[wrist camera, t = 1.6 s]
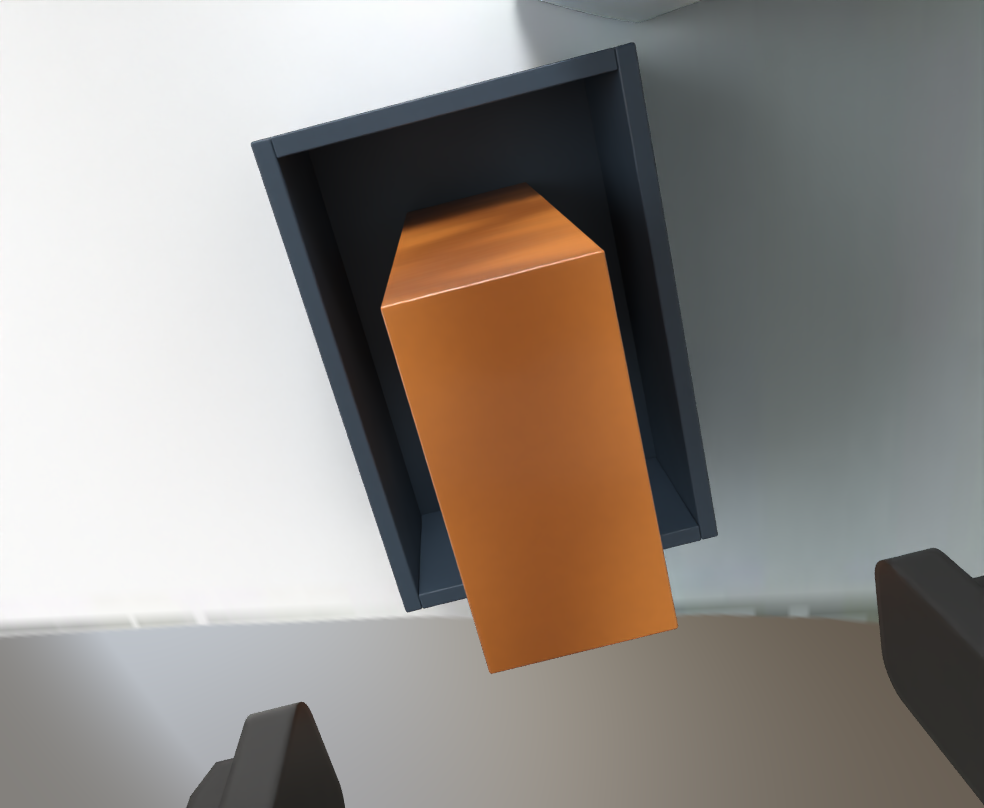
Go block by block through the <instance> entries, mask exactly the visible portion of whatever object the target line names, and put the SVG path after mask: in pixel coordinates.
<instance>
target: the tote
mask: <svg viewBox="0 0 984 808" xmlns="http://www.w3.org/2000/svg"><path fill="white" fill-rule="evenodd" d="M251 147H252V150H253V153H254V156H255V159H256V162H257V165H258V168H259V171H260V174H261V177H262V180H263V183H264V186H265V189H266V192H267V195H268V198H269V201H270V204H271V207H272V210H273V213H274V216H275V219H276V222H277V225H278V228H279V231H280V234H281V237H282V240H283V243H284V246H285V249H286V252H287V255H288V258H289V261H290V264H291V267H292V270H293V273H294V276H295V279H296V282H297V285H298V288H299V291H300V294H301V297H302V300H303V303H304V306H305V309H306V312H307V315H308V318H309V321H310V324H311V327H312V330H313V333H314V336H315V339H316V342H317V345H318V348H319V351H320V354H321V357H322V360H323V363H324V366H325V369H326V372H327V375H328V378H329V381H330V384H331V387H332V390H333V393H334V396H335V399H336V402H337V405H338V409H339V412H340V415H341V418H342V421H343V424H344V427H345V430H346V433H347V436H348V439H349V442H350V445H351V448H352V451H353V454H354V457H355V460H356V463H357V466H358V469H359V472H360V475H361V478H362V481H363V484H364V487H365V490H366V493H367V496H368V499H369V502H370V505H371V508H372V511H373V514H374V517H375V520H376V523H377V526H378V529H379V532H380V535H381V538H382V541H383V544H384V547H385V550H386V553H387V556H388V559H389V562H390V565H391V568H392V571H393V574H394V577H395V580H396V583H397V586H398V589H399V592H400V595H401V598H402V601H403V604H404V607H405V610H406V612H411V611H415V610H419V609H422V607H423V608H428V607H432V606H436V605H440V604H444V603H448V602H453V601H457V600H461V599H465V598H467V596H466V592H465V589H464V586H463V582H462V579H461V576H460V572H459V569H458V566H457V562H456V559H455V556H454V552H453V549H452V546H451V542H450V539H449V536H448V532H447V529H446V526H445V522H444V519H443V516H442V512H441V509H440V506H439V502H438V499H437V496H436V492H435V489H434V486H433V482H432V479H431V476H430V472H429V469H428V466H427V462H426V459H425V455H424V452H423V449H422V445H421V442H420V439H419V435H418V432H417V429H416V425H415V422H414V419H413V415H412V412H411V409H410V405H409V402H408V399H407V395H406V392H405V389H404V385H403V382H402V379H401V375H400V372H399V369H398V365H397V362H396V359H395V355H394V352H393V349H392V345H391V342H390V339H389V335H388V332H387V329H386V325H385V322H384V319H383V315H382V312H381V305H382V302H383V298H384V294H385V291H386V287H387V283H388V280H389V276H390V273H391V269H392V265H393V262H394V258H395V254H396V251H397V247H398V243H399V240H400V236H401V233H402V229H403V225H404V222H405V218H406V214H407V213H408V212H412V211H416V210H419V209H423V208H427V207H431V206H435V205H439V204H443V203H447V202H450V201H454V200H458V199H462V198H466V197H470V196H474V195H477V194H481V193H485V192H489V191H493V190H497V189H501V188H505V187H508V186H512V185H516V184H520V183H524V182H526V183H527V184H528V185H529V186H531V187H532V188H533V189H534V190H535V191H536V192H537V193H539V194H540V195H541V196H542V197H543V198H544V199H545V200H547V201H548V202H549V203H550V204H551V205H552V206H553V207H555V208H556V209H557V210H558V211H559V212H560V213H561V214H563V215H564V216H565V217H566V218H567V219H568V220H569V221H571V222H572V223H573V224H574V225H575V226H576V227H577V228H579V229H580V230H581V231H582V232H583V233H584V234H585V235H587V236H588V237H589V238H590V239H591V240H592V241H593V242H594V243H596V244H597V245H598V246H599V247H600V248H601V249H602V250H604V252H605V257H606V262H607V267H608V272H609V277H610V282H611V287H612V292H613V298H614V303H615V308H616V313H617V318H618V323H619V328H620V333H621V338H622V343H623V348H624V353H625V359H626V364H627V369H628V374H629V379H630V384H631V389H632V394H633V399H634V404H635V409H636V414H637V420H638V425H639V430H640V435H641V440H642V445H643V450H644V455H645V460H646V465H647V470H648V476H649V481H650V486H651V491H652V496H653V501H654V506H655V511H656V516H657V521H658V526H659V531H660V537H661V542H662V547H663V549H667V548H671V547H675V546H679V545H684V544H688V543H692V542H696V541H700V540H701V539H707V538H711V537H715V536H717V535H718V532H717V526H716V520H715V514H714V508H713V502H712V497H711V491H710V485H709V479H708V473H707V467H706V461H705V455H704V449H703V443H702V437H701V431H700V425H699V419H698V413H697V408H696V402H695V396H694V390H693V384H692V378H691V372H690V366H689V360H688V354H687V348H686V342H685V336H684V330H683V324H682V319H681V313H680V307H679V301H678V295H677V289H676V283H675V277H674V271H673V265H672V259H671V253H670V247H669V241H668V235H667V230H666V224H665V218H664V212H663V206H662V200H661V194H660V188H659V182H658V176H657V170H656V164H655V158H654V152H653V146H652V141H651V135H650V129H649V123H648V117H647V111H646V105H645V99H644V93H643V87H642V81H641V75H640V69H639V63H638V57H637V52H636V46H635V43H633V42H632V43H628V44H624V45H620V46H617V47H613V48H609V49H605V50H601V51H597V52H594V53H590V54H586V55H582V56H578V57H574V58H571V59H567V60H563V61H559V62H555V63H552V64H548V65H544V66H540V67H536V68H532V69H529V70H525V71H521V72H517V73H513V74H510V75H506V76H502V77H498V78H494V79H490V80H487V81H483V82H479V83H475V84H471V85H468V86H464V87H460V88H456V89H452V90H448V91H445V92H441V93H437V94H433V95H429V96H426V97H422V98H418V99H414V100H410V101H406V102H403V103H399V104H395V105H391V106H387V107H384V108H380V109H376V110H372V111H368V112H364V113H361V114H357V115H353V116H349V117H345V118H342V119H338V120H334V121H330V122H326V123H322V124H319V125H315V126H311V127H307V128H303V129H300V130H296V131H292V132H288V133H284V134H280V135H277V136H273V137H269V138H265V139H261V140H258V141H254V142H252V143H251Z"/></svg>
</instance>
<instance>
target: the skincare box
mask: <svg viewBox="0 0 984 808" xmlns="http://www.w3.org/2000/svg"><path fill="white" fill-rule="evenodd" d="M540 1H544V2H547V3H551V4H554V5H558V6H561V7H565V8H568V9H572V10H576V11H581V12H585V13H589V14H593V15H597V16H601V17H607V18H612V19H618V20H623V21H629V22H634V23H639V22H643V21H646V20H648V19H651V18H654V17H656V16H659V15H662V14H665V13H668V12H670V11H673V10H676V9H679V8H681V7H684V6H687V5H690V4H692V3H695V2H698V1H701V0H540Z"/></svg>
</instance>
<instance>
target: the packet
mask: <svg viewBox="0 0 984 808" xmlns="http://www.w3.org/2000/svg"><path fill="white" fill-rule="evenodd" d="M381 312H382V315H383V319H384V322H385V325H386V329H387V332H388V335H389V339H390V342H391V345H392V349H393V352H394V355H395V359H396V362H397V365H398V369H399V372H400V375H401V379H402V382H403V385H404V389H405V392H406V395H407V399H408V402H409V405H410V409H411V412H412V415H413V419H414V422H415V425H416V429H417V432H418V435H419V439H420V442H421V445H422V449H423V452H424V455H425V459H426V462H427V466H428V469H429V472H430V476H431V479H432V482H433V486H434V489H435V492H436V496H437V499H438V502H439V506H440V509H441V512H442V516H443V519H444V522H445V526H446V529H447V532H448V536H449V539H450V542H451V546H452V549H453V552H454V556H455V559H456V562H457V566H458V569H459V572H460V576H461V579H462V582H463V586H464V589H465V592H466V596H467V599H468V602H469V606H470V609H471V612H472V616H473V619H474V622H475V626H476V629H477V633H478V636H479V639H480V642H481V646H482V649H483V653H484V656H485V659H486V663H487V666H488V669H489V672H490V673H491V674H492V673H497V672H501V671H505V670H509V669H513V668H517V667H522V666H526V665H529V664H534V663H537V662H542V661H546V660H550V659H554V658H558V657H562V656H566V655H571V654H574V653H578V652H583V651H587V650H591V649H595V648H599V647H603V646H607V645H612V644H615V643H620V642H624V641H628V640H632V639H636V638H640V637H644V636H648V635H652V634H657V633H660V632H665V631H669V630H673V629H677V628H678V624H677V618H676V613H675V608H674V603H673V598H672V593H671V587H670V582H669V577H668V572H667V567H666V562H665V557H664V552H663V547H662V542H661V537H660V531H659V526H658V521H657V516H656V511H655V506H654V501H653V496H652V491H651V486H650V481H649V476H648V470H647V465H646V460H645V455H644V450H643V445H642V440H641V435H640V430H639V425H638V420H637V414H636V409H635V404H634V399H633V394H632V389H631V384H630V379H629V374H628V369H627V364H626V359H625V353H624V348H623V343H622V338H621V333H620V328H619V323H618V318H617V313H616V308H615V303H614V298H613V292H612V287H611V282H610V277H609V272H608V267H607V262H606V257H605V252H604V250H602V249H601V248H600V247H599V246H598V245H597V244H596V243H594V242H593V241H592V240H591V239H590V238H589V237H588V236H587V235H585V234H584V233H583V232H582V231H581V230H580V229H579V228H577V227H576V226H575V225H574V224H573V223H572V222H571V221H569V220H568V219H567V218H566V217H565V216H564V215H563V214H561V213H560V212H559V211H558V210H557V209H556V208H555V207H553V206H552V205H551V204H550V203H549V202H548V201H547V200H545V199H544V198H543V197H542V196H541V195H540V194H539V193H537V192H536V191H535V190H534V189H533V188H532V187H531V186H529V185H528V184H527V183H526V182H524V183H520V184H516V185H512V186H508V187H505V188H501V189H497V190H493V191H489V192H485V193H481V194H477V195H474V196H470V197H466V198H462V199H458V200H454V201H450V202H447V203H443V204H439V205H435V206H431V207H427V208H423V209H419V210H416V211H412V212H408V213H407V214H406V218H405V222H404V225H403V229H402V233H401V236H400V240H399V243H398V247H397V251H396V254H395V258H394V262H393V265H392V269H391V273H390V276H389V280H388V283H387V287H386V291H385V294H384V298H383V302H382V305H381Z"/></svg>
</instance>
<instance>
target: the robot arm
mask: <svg viewBox="0 0 984 808" xmlns="http://www.w3.org/2000/svg"><path fill="white" fill-rule="evenodd" d="M875 584H876V594H877V605H878V615H879V626H880V637H881V647H882V655H883V660H884V664H885V667H886V670H887V673H888V676H889V678H890V681H891V682H892V685H893V687H894V689H895V690H896V692H897V694H898V696H899V697H900V699H901V700H902V701H903V703H904V704H905V705H906V707H907V708H908V709H909V710H910V712H911V713H912V714H913V716H914V717H915V718H916V719H917V721H918V722H919V723H920V724H921V726H922V727H923V728H924V729H925V731H926V732H927V733H928V734H929V736H930V737H931V738H932V739H933V741H934V742H935V743H936V744H937V746H938V747H939V748H940V750H941V751H942V752H943V753H944V755H945V756H946V757H947V759H948V760H949V761H950V762H951V764H952V765H953V766H954V768H955V769H956V770H957V771H958V773H959V774H960V775H961V776H962V778H963V779H964V780H965V781H966V783H967V784H968V785H969V786H970V788H971V789H972V790H973V792H974V793H975V794H976V795H977V797H978V798H979V799H980V800H981V802H982V803H983V804H984V576H980V577H976V578H972V577H971V576H970V575H968V574H967V573H966V572H965V571H964V570H963V569H962V568H960V567H959V566H958V565H957V564H956V563H955V562H954V561H952V560H951V559H950V558H949V557H948V556H947V555H946V554H944V553H943V552H942V551H941V550H939V549H937V548H930V549H926V550H922V551H918V552H914V553H910V554H905V555H901V556H897V557H893V558H889V559H885V560H881V561H879V562H877V564H876V567H875ZM187 808H345V804H344V799H343V794H342V790H341V787H340V783H339V781H338V778H337V776H336V773H335V771H334V768H333V766H332V763H331V761H330V758H329V756H328V753H327V751H326V748H325V746H324V743H323V741H322V738H321V735H320V733H319V731H318V728H317V726H316V723H315V720H314V718H313V715H312V713H311V711H310V709H309V708H308V706H307V705H306V704H305V703H304V702H299V703H295V704H291V705H287V706H282V707H278V708H274V709H271V710H266V711H263V712H258V713H254V714H251V715H249V716H248V717H247V719H246V721H245V723H244V726H243V730H242V733H241V736H240V739H239V743H238V746H237V749H236V752H235V756H234V758H232V759H228V760H224V761H220V762H216V763H215V765H214V766H213V767H212V768H211V770H210V771H209V772H208V774H207V775H206V776H205V778H204V779H203V781H202V782H201V783H200V784H199V786H198V787H197V788H196V790H195V791H194V792H193V793H192V795H191V796H190V799H189V802H188V805H187Z"/></svg>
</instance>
